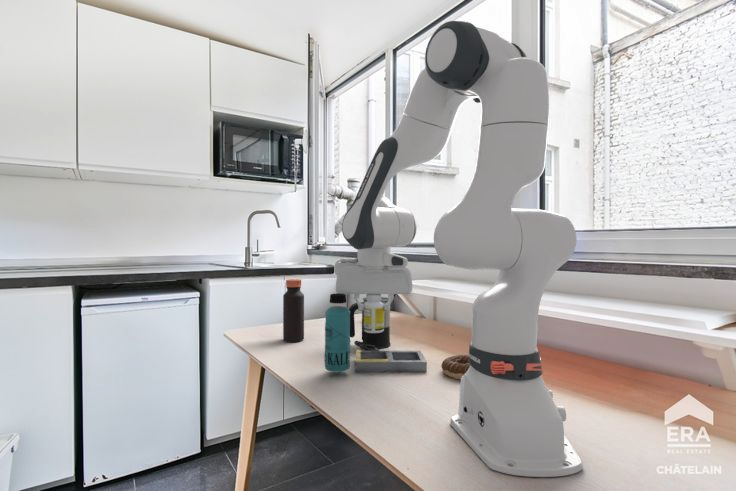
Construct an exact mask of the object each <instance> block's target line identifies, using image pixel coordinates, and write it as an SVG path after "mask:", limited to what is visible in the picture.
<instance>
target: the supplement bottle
mask: <svg viewBox="0 0 736 491" xmlns="http://www.w3.org/2000/svg"><path fill="white" fill-rule="evenodd" d="M365 295H366V296H365V297H366V300H367V302H366V303H365V304H364V331H365V332H367V333H381V332H383V331H384V305H383V303H382V302H380V300H381V297H382V294H365Z"/></svg>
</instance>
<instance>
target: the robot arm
mask: <svg viewBox="0 0 736 491" xmlns="http://www.w3.org/2000/svg"><path fill="white" fill-rule="evenodd" d="M424 66H425V67H423V68H422V69H421V70H420V72H419V73H418V76H417V78H416V80H415V82H414V84H413V86H412V88H411V91H410V93H409V95H408V99H407V101H406V104H405V107H404V110H403V113H402V116H401V119H400V121H399V123H398V124H397V127H396V128H395V130H394V131H393V132H392V133H391V135H390V136H389V137H387V138H386V139H384V140H382V141H381V142H380V144H379V145H378V146H377V147H378V148H377V150H375V151H376V152H374V155H373V156H372V160H371V162H370V164H369V166H368V167H367V170H366V173H365V175H364V178H363V179H362V181H361V184H360V185H359V189H358V192H357V193H356V195H355V197H354V200H353V202H352V203H351V205H350V207H349V208H348V210H346V211H347V212H345V215H344V217H343V220H342V224H341V230H342V231H341V233H342V236H343V238H344V239H345V241H346V242H347V243H348V244H349V245H350V246H351V247H352V248H354V249H355V250H357V254H356V255H357V258H340V259H339V260H337V261H336V262H335V264H334V274H336V279H335V292H336V293H341V294H346V295H353V298H354V301H355V303H357V304H358V309H357V311H358V312H362V311H364V304H361V303H360V302H361V301H360V300H359V299H360V295H367V294H381V295H387V298H389V300H388V302H387V304H384V311H389V307H390V308H391V303H392V302H393V300H395V299H394V298H395V297H394V296H395V295H410V294H411V293H412V292H413V280H412V272H411V271H410V269H409V267H407V266H408V263H409V262H408V261H409V260H408V258H407V257H405V256H402V255H399V254H398V253H393V252H391V251H392V248H400V247H401V248H402V247H405V246H408V245H410V244H411V243H412V242H413V241H414V240H415V237H416V234H417V221H416V218H415V215H414V214H413V213H412V211H410V210H409V209H405V208H402V207H400V206H397V205H395V204H394V203H392V202H391V200H390V199H389V198H388V197H386V196H384V194H385V192H386V190H387V187H388V186H389V183H390V181H391V180H392V178H394V177H395V176H396V175H397V174H399V173H400V172H402V171H403V170H407V169H408V168H411V167H413V166H418V165H422V164H425V163H427V162H430V161H433V160H434V159H435V158H437V157H438V156H439V155H441V154H442V153H443V151H444V149H445V147H447V144H448V142H449V140H450V136H451V133H452V131H453V127H454V125H455V122H456V119H457V116H458V113H459V110H460V109H461V107H462V106H463V104H465V102H467V101H469V100H471V99H472V100H473V101H474V102H475V103H476V104H477V103H478V104H479V103H480V106H481V113H480V123H479V124H480V125H479V137H478V138H479V139H478V148H477V157H476V165H475V171H474V174H473V176H472V177H473V178H472V179H471V182H470V184H469V186H468V188H467V191H466V192H465V193H464V195H463V196H462V198H461V199H460V200H459V201H458V202H457V204H456V205H454V206H453V207H452V208H451V209H449V210H447V212H445V213H444V214H443V215H442V216H441V217H440V218H439V220H438V222H437V223H436V225H435V228H434V233H433V245H434V249H435V252H436V254H437V256H438V257H439V259H440V261H441V262H442V263H444V264H445V265H446V266H450V267H453V268H454V267H455V268H458V269H464V270H471V271H477V270H478V271H482V270H483V271H485V270H486V271H487V270H488V271H489V270H490V271H491V270H492V271H494V270H499V273H498V275H497V278H496V280H495V282H494V284H493V285H492V286H491V287H490V288H489V289H487V290H485V291H484V292H481V293H480V294H479V295H478V296H477V297H476V298H475V300H474V302H473V304H472V306H471V342H470V343H469V348H468V354H467V355H468V356H469V364H470V367H469V369H468V371H467V372H466V373H465V374H464V375H463V376H462V377H461V380H460V387H459V399H458V400H459V402H458V405H459V406H458V413H455V414H453V415H452V416H450V420H449V422H450V423H449V424H450V426H452V428H453V429H454V430H455V431H456V432H457V433H458V434H459V436H460V437H462V439H463V440H464V441H465V442H466V443H467V445H468V446H469V447H470V448H471V449H472V451H473V452H474V453H475V454H477V456H478V457H479V458H480V460H482V461H483V463H484V464H485V465H486V466H487V467H488V468H489V469H491V470H492V471H496V472H499V473H503V474H507V475H512V476H521V477H531V478H532V477H534V478H535V477H536V478H548V477H552V478H553V477H554V478H555V477H563V476H570V475H574V474H577V473H579V472H581V471H582V470H583V469H584V466H583V465H584V464H583V460H582V459H581V457H580V456H579V454H578V453H577V452H576V449H575V448H574V447H573V445H572V444H571V442H570V441H569V439H568V438H567V436H566V435H565V430H564V428H565V427H564V422H566V421H567V412H566V408H565V407H564V406H561V405H556V403H555V401H554V399H553V391H552V390H551V389H550V390H549V389H548V387H547V385H546V382H545V381H544V379H543V373H544V372H543V367H542V366H543V362H542V358H541V356H540V350H539V348H538V347H537V346H538V344H537V343H538V342H537V341H538V323H539V322H538V321H539V312H540V311H539V309H540V305H541V301H542V297H543V295H544V291H545V290H546V287H547V286H548V284H549V281H551V278H552V277H553V276H554V274H555V273H556V272H557V270H559V268H561V267H562V266H563V265H564V264H566V263H567V262H568V261H569V260H571V257H572V256H573V254H574V252H575V250H576V247H577V242H578V241H577V233H576V228H575V225H574V224H573V222H572V221H571V220H570V218H568V217H567V216H565V215H563V214H560V213H556V212H553V211H548V210H544V209H539V208H537V209H536V208H513V204H514V200H515V199H516V197H517V195H518V194H519V192H520V191H521V190H522V189H523V188H525V187H527V186H529V185H531V184H533V183H535V182H536V181H537V180H538V179H539V178H541V176H542V174H543V172H544V170H545V166H546V156H547V155H546V154H547V145H548V134H549V123H550V122H549V121H550V120H549V119H550V93H549V92H550V90H549V80H548V73H547V70H546V68H545V66H544V65H543V64H542V63H541V61H538V60H536V59H532V58H531V57H530V58H529V57H528V56H527V55H526V53H525V52H524V50H523V49H522V48H521V47H519V45H517V44H516V43H514V42H510V41H508V40H507V39H506V38H504V37H503V36H500V35H499V34H498V33H496V32H494V31H493V30H490V29H487V28H484V27H481V26H477V25H475V24H473V23H471V22H469V21H464V20H450V21H446V22H444V23H443V24H441V25H440V26H438V27H437V29H435V31H434V32H433V34H431V36H430V38H429V40H428V43H427V46H426V48H425V52H424Z"/></svg>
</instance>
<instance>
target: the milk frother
mask: <svg viewBox="0 0 736 491" xmlns="http://www.w3.org/2000/svg"><path fill="white" fill-rule="evenodd" d="M362 300H363V301H362V302H361V301H360V303H361V304H365V303H366V302H367V300H366V296H365V297H363V298H362ZM388 300H389V298H388V297H384V296H381V300H380V302H382V303H383V305H384V304H387V302H388ZM348 310H349V311H350V338H354V337H355V336H356V327H355V325H356V324H355V313H356V311H358V304H357V302H354V303H353V304H351V305H350V306H349V308H348ZM361 313H362V314H361V340H362V341H360V340H359V341H358V340H354V342H353V343H354V345H355V346H357V347H358V348H360V349H361V350H363V351H380V349H384V348H388V347H391V344H392V343H391V341H390V340H391V339H390V338H391V333H390V331H391V328H390V327H391V326H390V324H391V323H390V322H391V321H390V320H391V306H390V307H389V311H384V331H383V332H381V333H367V332H365V331H364V311H361Z"/></svg>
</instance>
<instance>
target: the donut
mask: <svg viewBox="0 0 736 491" xmlns="http://www.w3.org/2000/svg"><path fill="white" fill-rule="evenodd" d="M469 367H470V364H469V355H468V354H457V355H452V356H449V357H446V358H445V359H444V360H443V361H442V363H441V368H442V369H441V370H442V372H443V373H444V374H445V375H446V376H447V377H449V378H452V379H455V380H460V381H461V377H462V376H463V375H464V374H465V373H466V372H467V371H468V369H469Z"/></svg>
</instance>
